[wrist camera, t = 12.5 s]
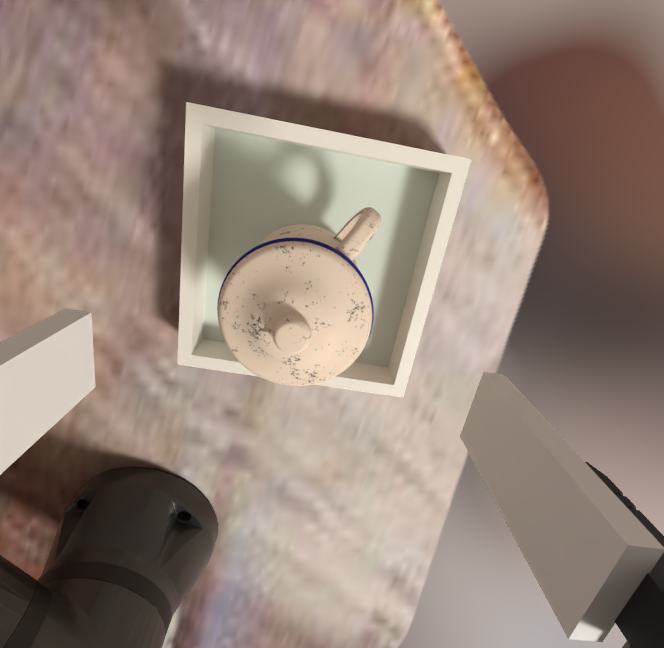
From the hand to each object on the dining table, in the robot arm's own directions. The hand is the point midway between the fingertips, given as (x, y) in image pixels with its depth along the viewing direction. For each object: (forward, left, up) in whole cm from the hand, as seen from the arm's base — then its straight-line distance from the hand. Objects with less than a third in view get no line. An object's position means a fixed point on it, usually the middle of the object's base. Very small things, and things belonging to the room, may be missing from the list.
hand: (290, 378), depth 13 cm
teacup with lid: (0, 0, -18) cm, 18 cm away
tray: (0, 0, -19) cm, 19 cm away
